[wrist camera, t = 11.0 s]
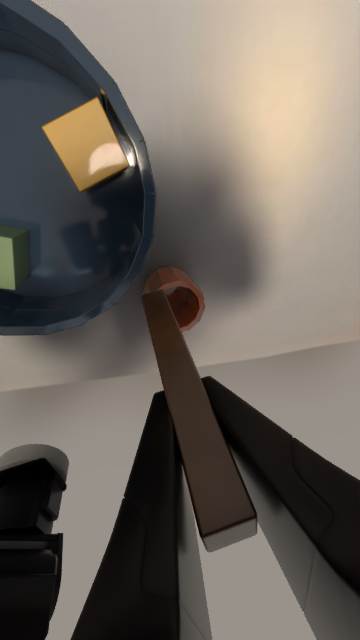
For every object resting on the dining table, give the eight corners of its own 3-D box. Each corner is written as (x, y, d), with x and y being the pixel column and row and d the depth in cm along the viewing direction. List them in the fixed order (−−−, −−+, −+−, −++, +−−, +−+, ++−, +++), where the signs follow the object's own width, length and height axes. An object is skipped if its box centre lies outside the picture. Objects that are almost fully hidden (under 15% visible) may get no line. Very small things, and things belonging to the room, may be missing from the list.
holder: (150, 318, 21) (156, 339, 18) (137, 273, 19) (141, 290, 16) (195, 305, 22) (207, 324, 19) (187, 261, 20) (199, 274, 17)
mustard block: (85, 191, 16) (79, 192, 13) (53, 137, 14) (40, 126, 12) (128, 168, 16) (130, 165, 13) (100, 111, 14) (97, 95, 12)
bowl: (-21, 323, 19) (-62, 365, 14) (-203, 61, 12) (-393, -12, 7) (165, 274, 20) (179, 298, 16) (105, 14, 13) (99, -72, 9)
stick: (146, 313, 14) (207, 555, 5) (140, 294, 13) (200, 538, 5) (167, 307, 14) (258, 534, 6) (163, 288, 13) (258, 517, 5)
